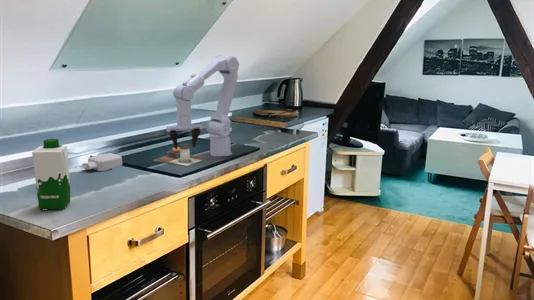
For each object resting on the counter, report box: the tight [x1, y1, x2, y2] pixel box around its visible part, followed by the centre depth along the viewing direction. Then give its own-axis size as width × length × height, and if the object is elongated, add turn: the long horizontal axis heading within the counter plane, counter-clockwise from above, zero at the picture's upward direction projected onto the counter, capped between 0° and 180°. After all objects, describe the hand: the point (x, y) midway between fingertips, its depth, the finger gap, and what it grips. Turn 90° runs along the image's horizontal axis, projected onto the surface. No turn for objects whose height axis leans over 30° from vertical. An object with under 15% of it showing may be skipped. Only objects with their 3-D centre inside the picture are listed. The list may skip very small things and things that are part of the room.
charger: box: [79, 152, 123, 172], centre depth 172 cm, size 5×9×15 cm
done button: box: [172, 146, 180, 153], centre depth 191 cm, size 3×3×2 cm
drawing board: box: [152, 149, 209, 167], centre depth 186 cm, size 15×18×3 cm
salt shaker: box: [179, 142, 191, 162], centre depth 183 cm, size 4×4×7 cm
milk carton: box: [31, 138, 71, 211], centre depth 131 cm, size 9×9×20 cm
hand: (184, 147), depth 182 cm, fingers open, 7 cm apart
